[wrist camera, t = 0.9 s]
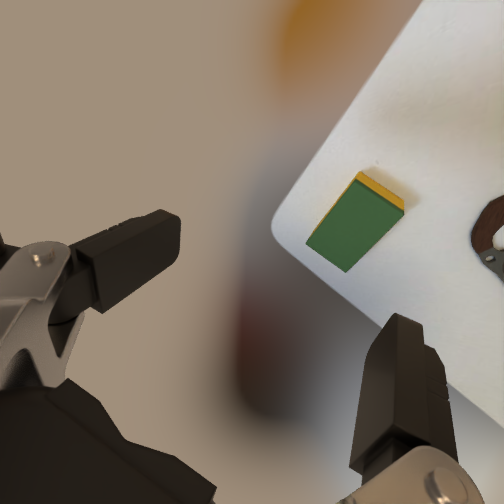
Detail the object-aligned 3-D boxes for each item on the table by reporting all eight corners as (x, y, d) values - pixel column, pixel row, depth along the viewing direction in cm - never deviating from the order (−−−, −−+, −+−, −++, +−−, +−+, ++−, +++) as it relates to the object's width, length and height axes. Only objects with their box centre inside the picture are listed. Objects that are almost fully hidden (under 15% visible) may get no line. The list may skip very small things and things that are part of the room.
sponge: (314, 229, 28) (304, 243, 25) (359, 170, 24) (353, 180, 21) (351, 255, 28) (345, 273, 25) (404, 200, 23) (404, 214, 21)
